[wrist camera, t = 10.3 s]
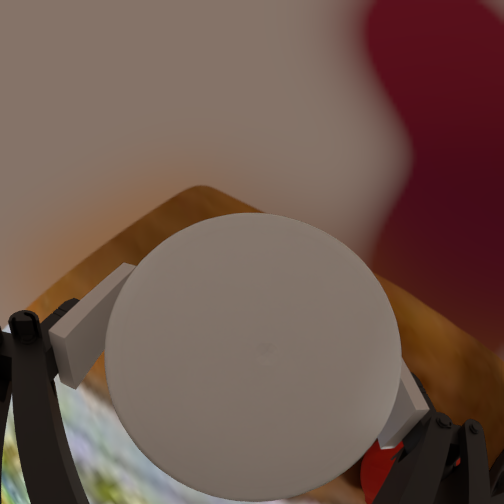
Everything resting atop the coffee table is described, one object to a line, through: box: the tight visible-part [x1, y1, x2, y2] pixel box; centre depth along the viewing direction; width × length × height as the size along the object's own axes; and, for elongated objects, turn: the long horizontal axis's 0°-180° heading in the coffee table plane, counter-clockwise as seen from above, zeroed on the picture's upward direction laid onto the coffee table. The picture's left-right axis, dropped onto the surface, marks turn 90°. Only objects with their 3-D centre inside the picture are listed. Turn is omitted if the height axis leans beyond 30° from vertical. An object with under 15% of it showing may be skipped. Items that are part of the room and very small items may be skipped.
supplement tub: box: [105, 213, 401, 502], centre depth 14 cm, size 10×10×15 cm
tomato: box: [360, 441, 460, 504], centre depth 17 cm, size 11×11×9 cm
